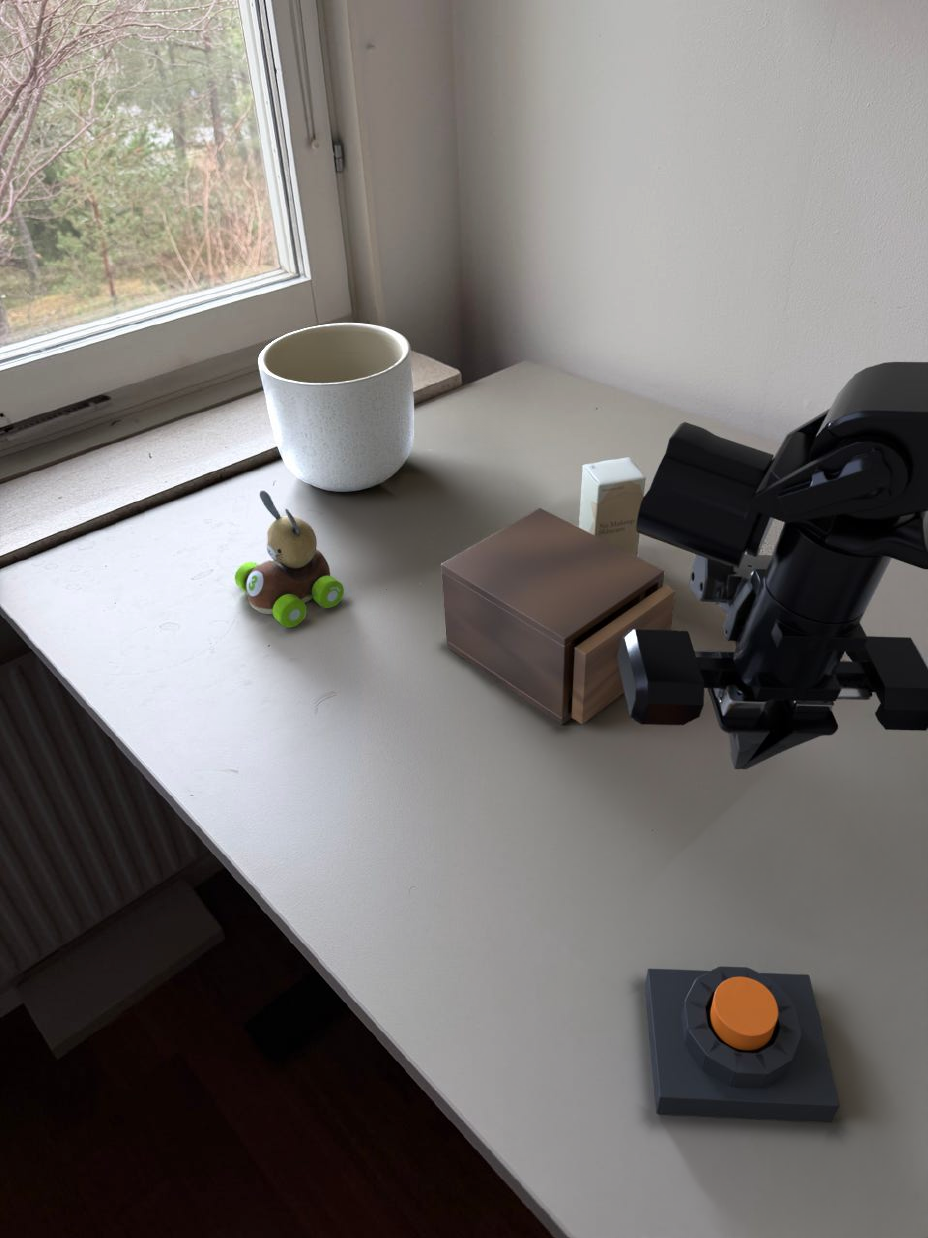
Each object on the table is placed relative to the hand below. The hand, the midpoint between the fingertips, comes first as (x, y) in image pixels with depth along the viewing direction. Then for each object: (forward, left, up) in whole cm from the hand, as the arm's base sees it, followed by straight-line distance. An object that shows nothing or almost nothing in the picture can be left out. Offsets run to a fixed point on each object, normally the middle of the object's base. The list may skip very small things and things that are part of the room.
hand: (738, 763), depth 63 cm
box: (+6, -36, -9) cm, 38 cm away
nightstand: (+12, -22, -9) cm, 27 cm away
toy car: (+38, -30, -9) cm, 50 cm away
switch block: (+1, +15, -9) cm, 18 cm away
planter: (+36, -55, -9) cm, 67 cm away
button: (+1, +15, -6) cm, 16 cm away
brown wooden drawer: (+10, -20, -8) cm, 24 cm away
